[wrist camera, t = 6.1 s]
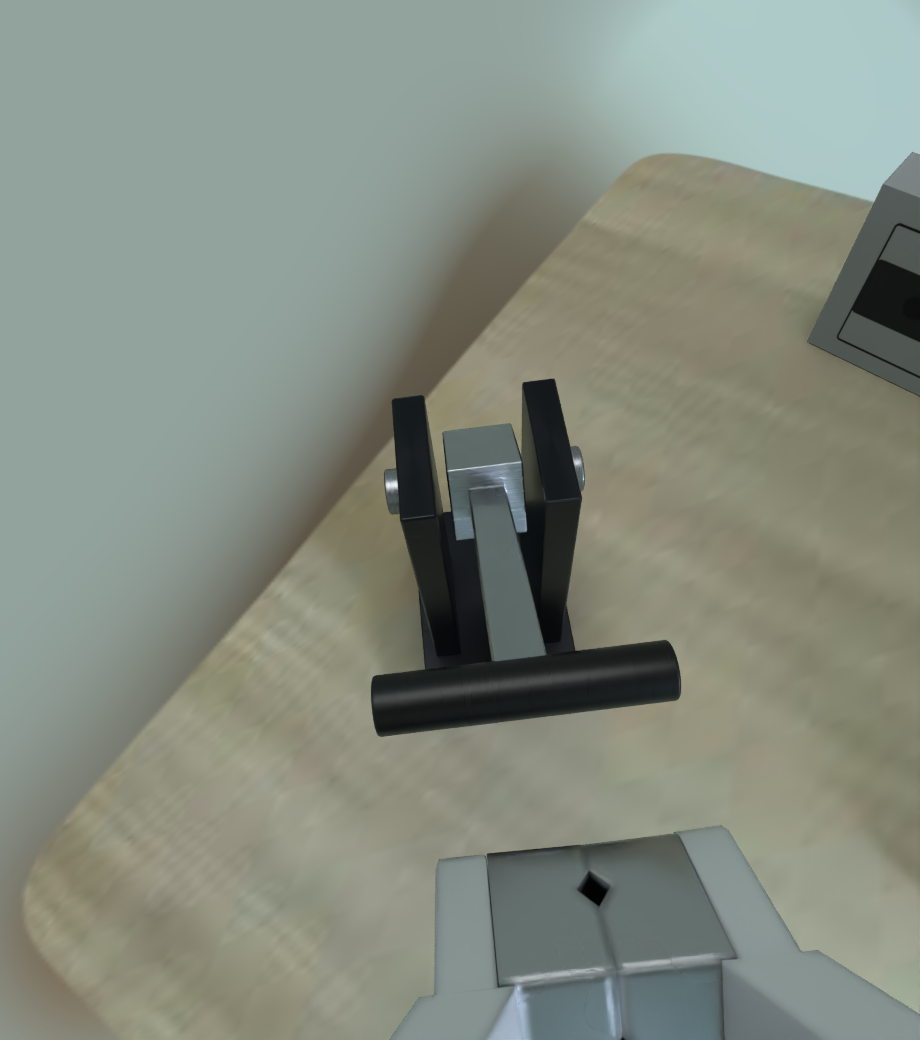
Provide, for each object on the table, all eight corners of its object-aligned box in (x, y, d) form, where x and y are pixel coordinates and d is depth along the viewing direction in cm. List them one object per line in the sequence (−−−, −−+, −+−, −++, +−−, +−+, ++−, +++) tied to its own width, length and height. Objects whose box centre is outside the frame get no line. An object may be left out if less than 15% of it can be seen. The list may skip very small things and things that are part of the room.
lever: (678, 733, 14) (685, 643, 13) (384, 770, 14) (363, 683, 13) (572, 481, 24) (570, 414, 23) (394, 503, 24) (382, 438, 23)
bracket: (582, 705, 28) (619, 571, 18) (431, 723, 28) (385, 600, 18) (544, 513, 33) (557, 321, 23) (415, 529, 33) (371, 345, 23)
